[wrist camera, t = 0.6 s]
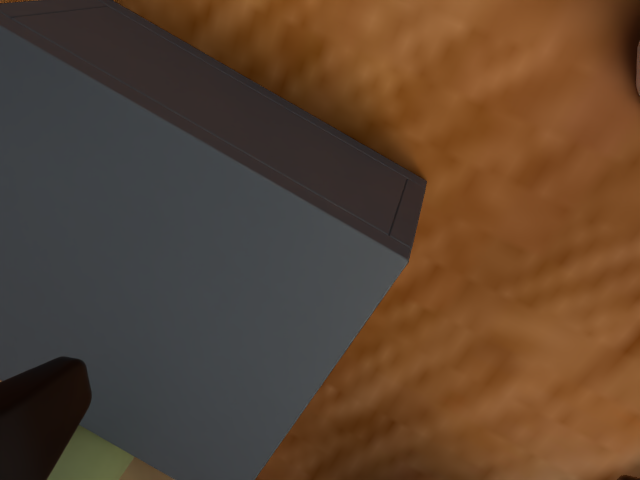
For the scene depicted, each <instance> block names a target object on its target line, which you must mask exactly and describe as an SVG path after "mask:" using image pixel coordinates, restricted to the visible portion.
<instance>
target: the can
mask: <svg viewBox="0 0 640 480" xmlns="http://www.w3.org/2000/svg"><path fill="white" fill-rule="evenodd" d="M636 87H637V90H638V93H639V96H640V42H639V45H638V47H637V75H636Z"/></svg>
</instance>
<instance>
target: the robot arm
mask: <svg viewBox="0 0 640 480" xmlns="http://www.w3.org/2000/svg"><path fill="white" fill-rule="evenodd" d="M91 400H92V391H91V386H90V381H89V376H88V372H87V367H86V364H85V363H84V361H82V360H80V359H76V358H71V357H67V356H61V357H58V358H55V359H53V360H51V361H48V362H46V363H44V364H41V365H39V366H37V367H34V368H32V369H30V370H27V371H25V372H23V373H20V374H18V375H16V376H13V377H11V378H9V379H6V380H4V381H2V382H0V480H47V478H48V477H49V475H50V473H51V472H52V470H53V469H54V467H55V465H56V463H57V462H58V460H59V458H60V457H61V455H62V453H63V451H64V450H65V448H66V446H67V445H68V443H69V441H70V439H71V438H72V436H73V434H74V433H75V431H76V429H77V427H78V426H79V424H80V422H81V421H82V419H83V417H84V415H85V414H86V412H87V410H88V408H89V406H90V404H91ZM617 480H640V478H637V477H632V476H627V475H622V476H620V477H619V478H618V479H617Z"/></svg>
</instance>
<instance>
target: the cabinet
mask: <svg viewBox="0 0 640 480" xmlns="http://www.w3.org/2000/svg"><path fill="white" fill-rule="evenodd" d="M426 184H427V181H426V180H424V179H422V178H420V177H419V176H417V175H415V174H413V173H412V172H410V171H408V170H406V169H405V168H403V167H401V166H399V165H398V164H396V163H394V162H392V161H391V160H389V159H387V158H386V157H384V156H382V155H380V154H379V153H377V152H375V151H373V150H372V149H370V148H368V147H366V146H365V145H363V144H361V143H359V142H358V141H356V140H354V139H352V138H351V137H349V136H347V135H346V134H344V133H342V132H340V131H339V130H337V129H335V128H333V127H332V126H330V125H328V124H326V123H325V122H323V121H321V120H319V119H318V118H316V117H314V116H312V115H311V114H309V113H307V112H306V111H304V110H302V109H300V108H299V107H297V106H295V105H293V104H292V103H290V102H288V101H286V100H285V99H283V98H281V97H279V96H278V95H276V94H274V93H273V92H271V91H269V90H267V89H266V88H264V87H262V86H260V85H259V84H257V83H255V82H253V81H252V80H250V79H248V78H246V77H245V76H243V75H241V74H239V73H238V72H236V71H234V70H233V69H231V68H229V67H227V66H226V65H224V64H222V63H220V62H219V61H217V60H215V59H213V58H212V57H210V56H208V55H206V54H205V53H203V52H201V51H199V50H198V49H196V48H194V47H193V46H191V45H189V44H187V43H186V42H184V41H182V40H180V39H179V38H177V37H175V36H173V35H172V34H170V33H168V32H166V31H165V30H163V29H161V28H159V27H158V26H156V25H154V24H153V23H151V22H149V21H147V20H146V19H144V18H142V17H140V16H139V15H137V14H135V13H133V12H132V11H130V10H128V9H126V8H125V7H123V6H121V5H119V4H118V3H116V2H114V1H113V0H36V1H24V2H13V3H1V4H0V380H2V381H4V380H6V379H9V378H11V377H13V376H16V375H18V374H20V373H23V372H25V371H27V370H30V369H32V368H34V367H37V366H39V365H41V364H44V363H46V362H48V361H51V360H53V359H55V358H58V357H61V356H67V357H71V358H76V359H80V360H82V361H84V363H85V364H86V367H87V372H88V376H89V381H90V386H91V391H92V400H91V404H90V406H89V408H88V410H87V412H86V414H85V415H84V417H83V419H82V421H81V422H80V424H79V425H80V426H82V427H84V428H85V429H87V430H89V431H91V432H92V433H94V434H96V435H98V436H99V437H101V438H103V439H105V440H106V441H108V442H110V443H112V444H113V445H115V446H117V447H119V448H120V449H122V450H124V451H126V452H127V453H129V454H131V455H133V456H134V457H136V458H138V459H140V460H141V461H143V462H145V463H147V464H148V465H150V466H152V467H153V468H155V469H157V470H159V471H160V472H162V473H164V474H166V475H167V476H169V477H171V478H173V479H174V480H255V479H256V477H257V476H258V474H259V473H260V471H261V470H262V469H263V467H264V466H265V464H266V463H267V462H268V460H269V459H270V457H271V456H272V455H273V453H274V452H275V450H276V449H277V447H278V446H279V445H280V443H281V442H282V440H283V439H284V438H285V436H286V435H287V433H288V432H289V430H290V429H291V428H292V426H293V425H294V423H295V422H296V421H297V419H298V418H299V416H300V415H301V413H302V412H303V411H304V409H305V408H306V406H307V405H308V404H309V402H310V401H311V399H312V398H313V396H314V395H315V394H316V392H317V391H318V389H319V388H320V387H321V385H322V384H323V382H324V381H325V379H326V378H327V377H328V375H329V374H330V372H331V371H332V370H333V368H334V367H335V365H336V364H337V362H338V361H339V360H340V358H341V357H342V355H343V354H344V353H345V351H346V350H347V348H348V347H349V346H350V344H351V343H352V341H353V340H354V338H355V337H356V336H357V334H358V333H359V331H360V330H361V329H362V327H363V326H364V324H365V323H366V321H367V320H368V319H369V317H370V316H371V314H372V313H373V312H374V310H375V309H376V307H377V306H378V304H379V303H380V302H381V300H382V299H383V297H384V296H385V295H386V293H387V292H388V290H389V289H390V287H391V286H392V285H393V283H394V282H395V280H396V279H397V278H398V276H399V275H400V273H401V272H402V270H403V269H404V268H405V266H406V265H407V263H408V262H409V258H410V254H411V249H412V246H413V242H414V237H415V233H416V229H417V224H418V220H419V215H420V211H421V207H422V202H423V198H424V194H425V188H426Z"/></svg>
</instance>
